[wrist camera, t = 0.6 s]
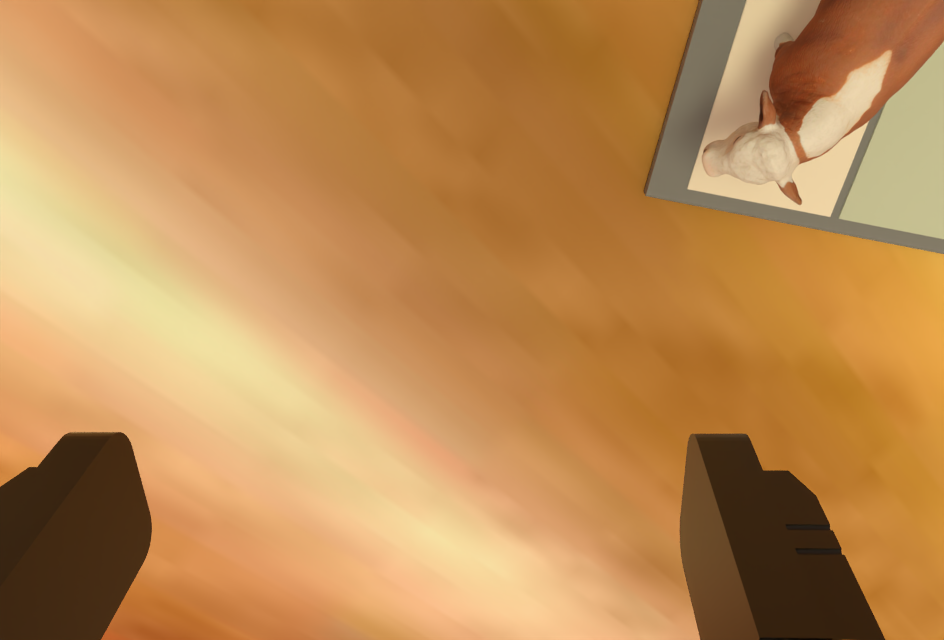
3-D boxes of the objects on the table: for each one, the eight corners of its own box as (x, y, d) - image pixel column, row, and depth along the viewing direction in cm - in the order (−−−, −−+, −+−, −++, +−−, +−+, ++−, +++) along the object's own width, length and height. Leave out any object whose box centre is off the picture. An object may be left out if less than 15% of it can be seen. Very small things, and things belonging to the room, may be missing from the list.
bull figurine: (661, 116, 37) (695, 173, 30) (915, -157, 32) (1030, -169, 25) (731, 178, 38) (780, 247, 31) (987, -77, 33) (1118, -66, 26)
